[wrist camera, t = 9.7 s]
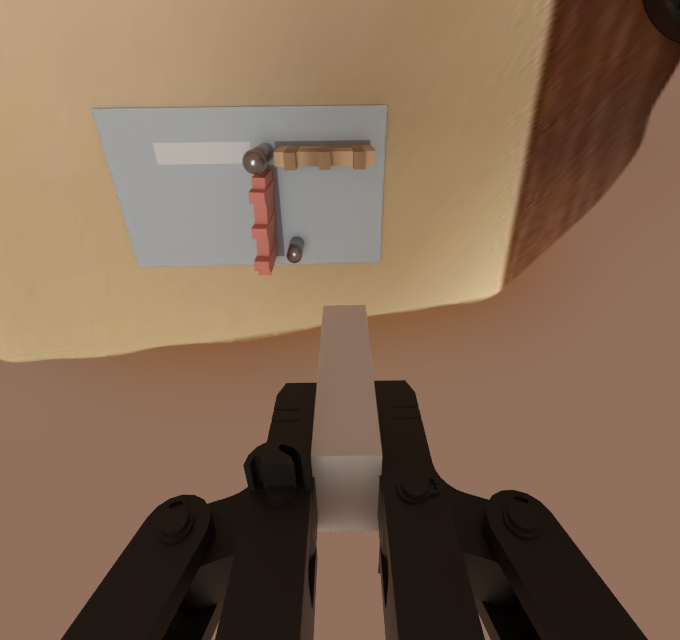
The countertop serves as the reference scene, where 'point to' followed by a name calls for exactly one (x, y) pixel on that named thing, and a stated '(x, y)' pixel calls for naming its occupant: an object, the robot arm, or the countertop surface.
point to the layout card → (242, 182)
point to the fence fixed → (324, 156)
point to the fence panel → (263, 221)
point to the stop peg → (295, 249)
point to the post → (258, 158)
